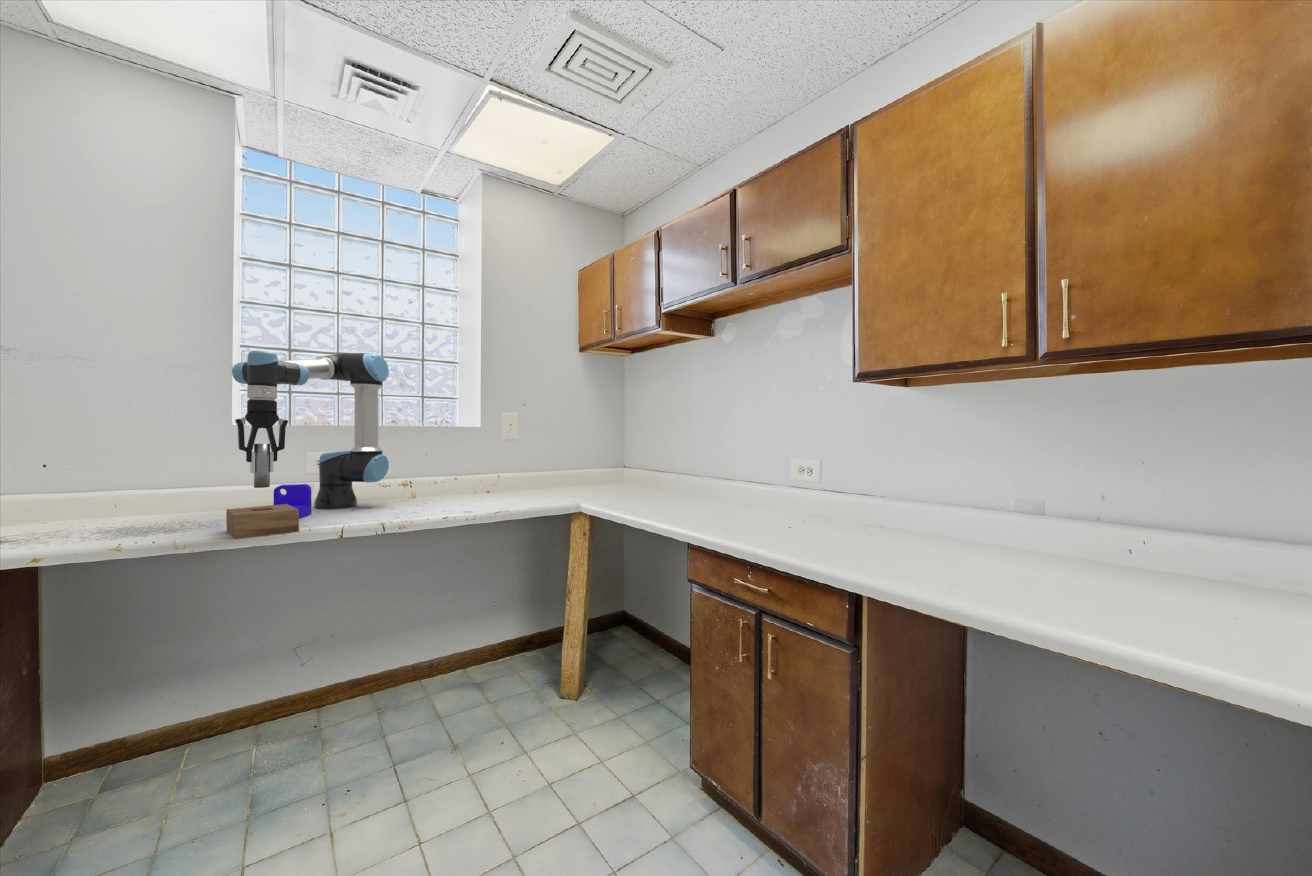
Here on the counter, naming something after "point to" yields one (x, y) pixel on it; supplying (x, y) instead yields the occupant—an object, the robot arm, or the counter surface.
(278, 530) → the bore block
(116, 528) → the counter surface
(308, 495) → the bracket
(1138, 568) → the counter surface
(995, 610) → the counter surface
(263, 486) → the pin
